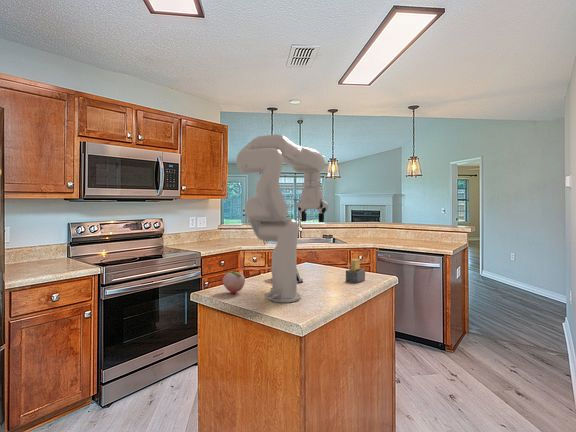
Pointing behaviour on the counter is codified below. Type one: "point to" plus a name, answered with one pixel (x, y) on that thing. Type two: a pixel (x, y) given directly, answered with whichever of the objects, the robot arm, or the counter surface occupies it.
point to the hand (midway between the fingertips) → (312, 221)
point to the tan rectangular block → (355, 265)
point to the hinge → (297, 276)
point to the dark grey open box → (355, 275)
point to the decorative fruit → (233, 281)
